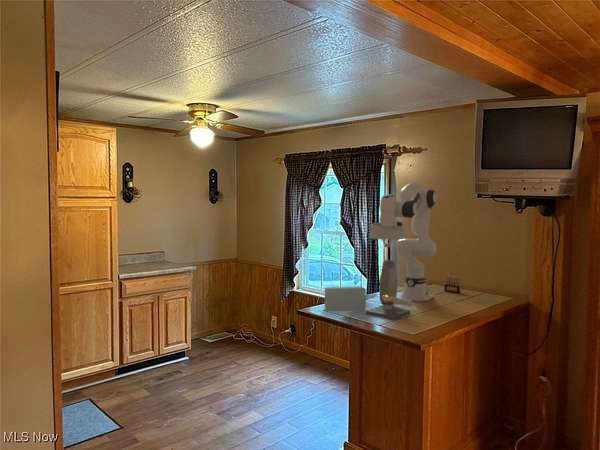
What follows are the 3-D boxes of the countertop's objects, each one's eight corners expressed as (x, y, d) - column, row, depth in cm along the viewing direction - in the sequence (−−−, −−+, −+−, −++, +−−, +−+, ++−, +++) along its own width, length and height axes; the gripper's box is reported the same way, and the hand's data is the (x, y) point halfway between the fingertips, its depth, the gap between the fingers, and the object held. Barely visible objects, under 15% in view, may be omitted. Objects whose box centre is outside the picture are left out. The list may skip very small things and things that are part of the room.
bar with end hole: (326, 312, 254) (327, 289, 253) (324, 309, 260) (324, 287, 259) (365, 310, 259) (366, 288, 258) (362, 308, 264) (363, 286, 263)
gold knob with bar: (378, 303, 250) (379, 296, 250) (386, 300, 256) (387, 293, 256) (407, 308, 238) (407, 301, 238) (414, 305, 245) (415, 298, 245)
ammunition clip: (444, 291, 314) (444, 274, 314) (445, 291, 316) (445, 274, 315) (459, 293, 308) (460, 276, 307) (460, 293, 309) (460, 275, 309)
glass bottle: (396, 308, 265) (397, 261, 263) (378, 307, 267) (379, 260, 265) (396, 304, 275) (397, 259, 273) (379, 303, 277) (380, 258, 275)
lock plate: (382, 308, 264) (382, 298, 264) (410, 313, 252) (410, 303, 252) (365, 314, 250) (366, 303, 250) (394, 320, 239) (394, 309, 238)
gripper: (371, 223, 252) (370, 247, 253) (406, 223, 253) (406, 247, 254) (368, 222, 258) (368, 246, 259) (403, 222, 260) (402, 246, 261)
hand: (387, 247), depth 257 cm, fingers closed
